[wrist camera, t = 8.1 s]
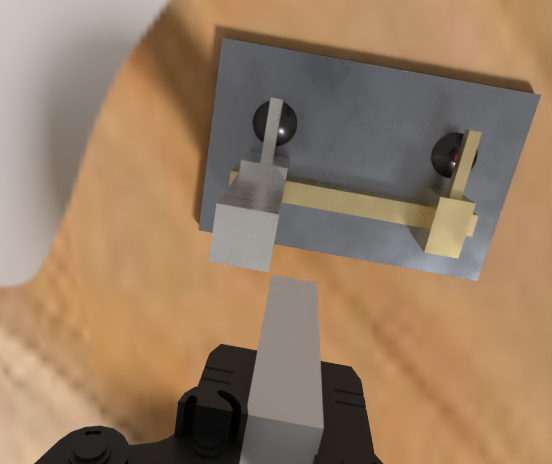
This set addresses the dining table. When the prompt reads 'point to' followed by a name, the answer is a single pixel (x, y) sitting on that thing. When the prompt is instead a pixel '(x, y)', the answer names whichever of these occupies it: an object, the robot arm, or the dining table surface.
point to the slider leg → (252, 204)
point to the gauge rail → (404, 204)
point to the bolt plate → (365, 146)
